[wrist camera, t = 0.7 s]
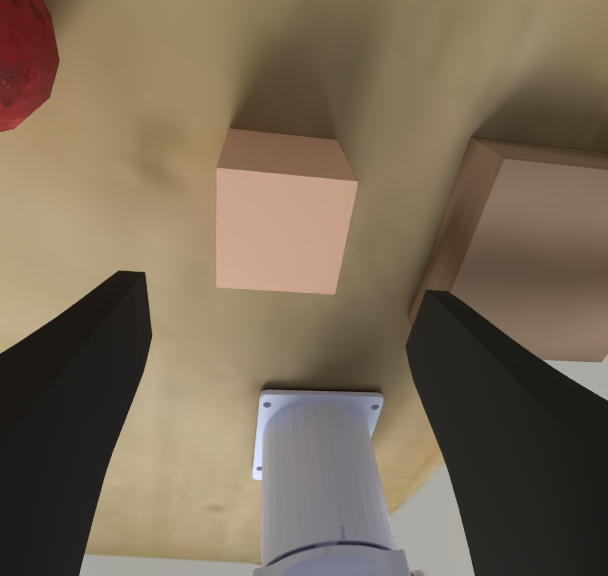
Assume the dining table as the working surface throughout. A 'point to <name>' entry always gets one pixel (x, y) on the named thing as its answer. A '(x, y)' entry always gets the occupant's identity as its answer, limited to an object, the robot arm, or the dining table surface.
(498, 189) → the walnut base
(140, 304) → the robot arm
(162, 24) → the dining table surface
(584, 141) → the dining table surface
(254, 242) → the terracotta cube
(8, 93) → the onion
